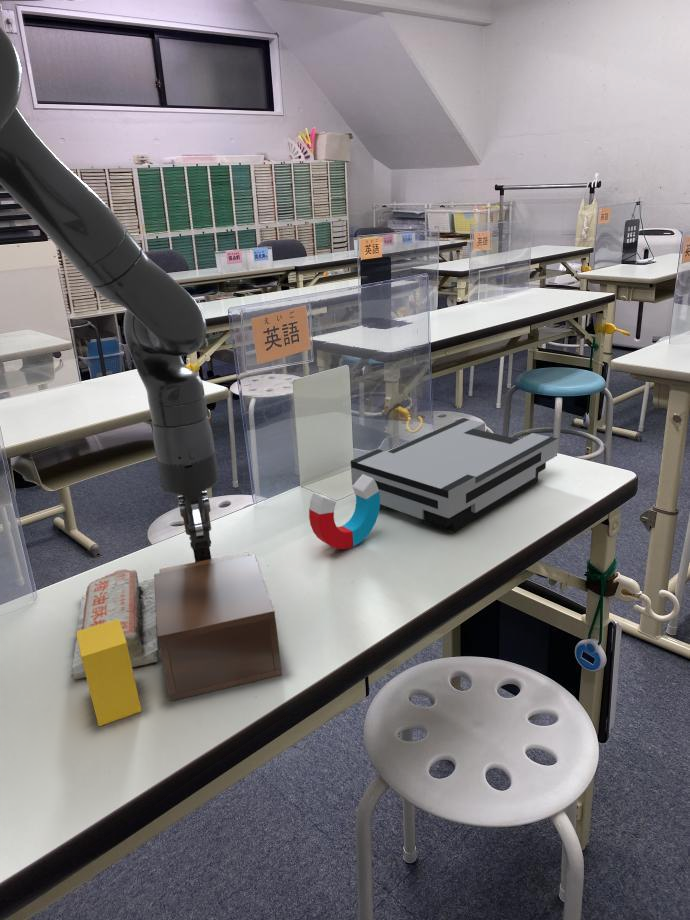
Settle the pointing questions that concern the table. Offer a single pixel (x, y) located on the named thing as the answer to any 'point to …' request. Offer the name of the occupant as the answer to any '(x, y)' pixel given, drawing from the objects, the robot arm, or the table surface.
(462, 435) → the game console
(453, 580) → the table surface
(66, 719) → the table surface
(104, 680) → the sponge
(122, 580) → the packaged product
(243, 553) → the drawer
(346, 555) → the table surface
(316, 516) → the magnet
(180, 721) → the table surface
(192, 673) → the cabinet
